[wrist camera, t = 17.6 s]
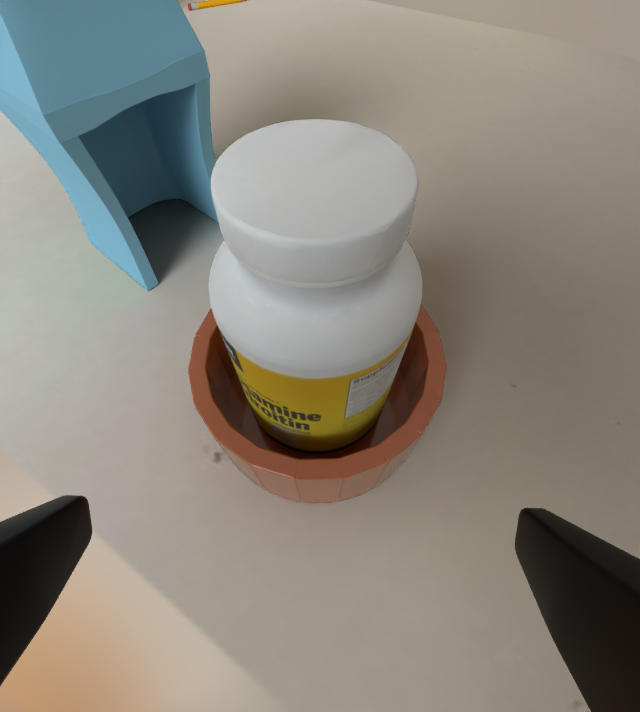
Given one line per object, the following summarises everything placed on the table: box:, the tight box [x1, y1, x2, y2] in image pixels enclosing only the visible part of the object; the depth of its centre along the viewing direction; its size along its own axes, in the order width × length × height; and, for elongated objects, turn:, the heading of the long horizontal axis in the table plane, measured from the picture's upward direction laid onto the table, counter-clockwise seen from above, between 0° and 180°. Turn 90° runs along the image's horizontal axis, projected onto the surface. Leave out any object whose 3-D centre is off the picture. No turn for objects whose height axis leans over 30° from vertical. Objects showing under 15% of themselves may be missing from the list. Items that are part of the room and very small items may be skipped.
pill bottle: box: [209, 119, 422, 455], centre depth 13 cm, size 6×6×12 cm
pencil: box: [188, 0, 246, 11], centre depth 49 cm, size 1×9×1 cm, turn 116°
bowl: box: [188, 304, 446, 503], centre depth 17 cm, size 10×10×4 cm
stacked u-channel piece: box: [0, 0, 219, 291], centre depth 17 cm, size 8×8×20 cm
